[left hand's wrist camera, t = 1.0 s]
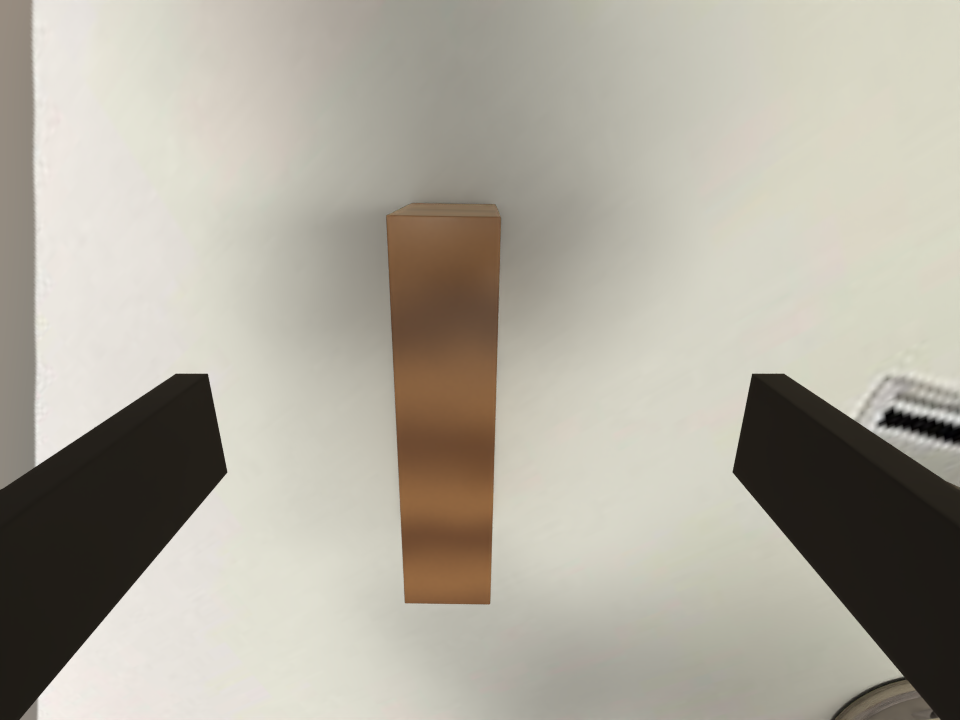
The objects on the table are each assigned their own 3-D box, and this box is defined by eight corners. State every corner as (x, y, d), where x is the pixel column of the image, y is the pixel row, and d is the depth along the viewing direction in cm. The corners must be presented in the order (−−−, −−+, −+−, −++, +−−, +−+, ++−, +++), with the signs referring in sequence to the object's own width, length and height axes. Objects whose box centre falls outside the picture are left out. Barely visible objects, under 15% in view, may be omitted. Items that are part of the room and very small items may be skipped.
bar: (411, 202, 31) (385, 215, 23) (495, 204, 31) (500, 216, 23) (420, 512, 39) (404, 603, 31) (488, 513, 39) (490, 605, 31)
